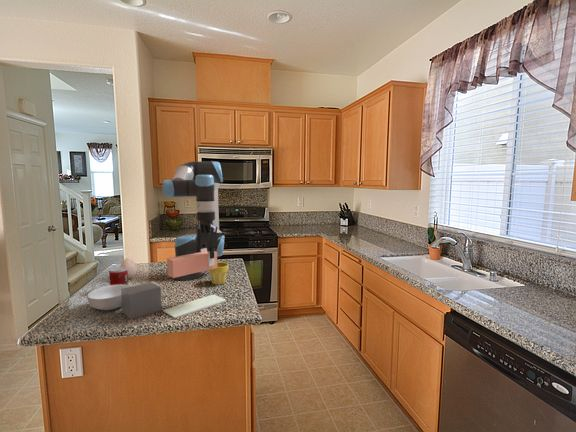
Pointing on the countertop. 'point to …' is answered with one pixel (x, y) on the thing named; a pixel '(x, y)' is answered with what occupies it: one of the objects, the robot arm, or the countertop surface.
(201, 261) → the long pink block
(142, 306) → the grey block
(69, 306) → the countertop surface
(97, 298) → the cereal bowl
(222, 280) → the plant pot
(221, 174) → the robot arm
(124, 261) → the egg
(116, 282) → the canned food
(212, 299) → the pale green flat board
